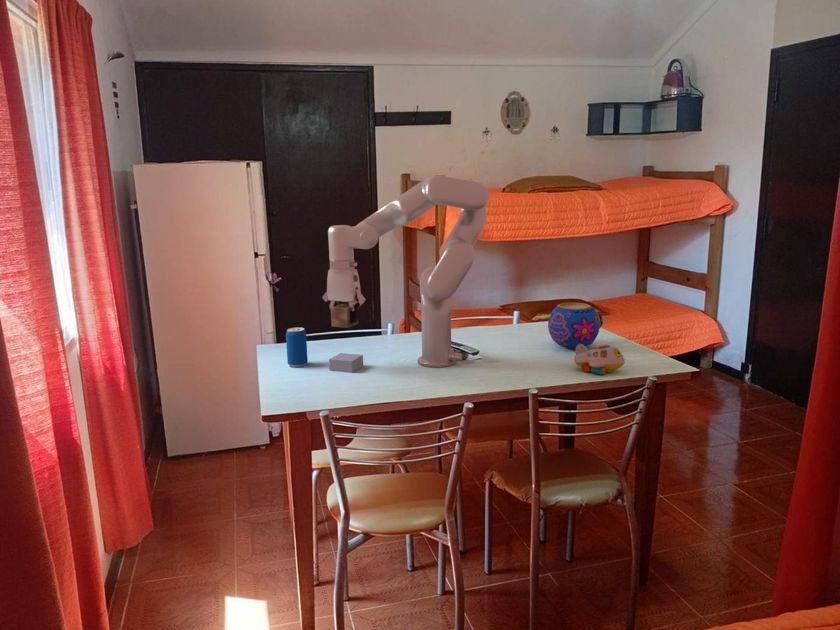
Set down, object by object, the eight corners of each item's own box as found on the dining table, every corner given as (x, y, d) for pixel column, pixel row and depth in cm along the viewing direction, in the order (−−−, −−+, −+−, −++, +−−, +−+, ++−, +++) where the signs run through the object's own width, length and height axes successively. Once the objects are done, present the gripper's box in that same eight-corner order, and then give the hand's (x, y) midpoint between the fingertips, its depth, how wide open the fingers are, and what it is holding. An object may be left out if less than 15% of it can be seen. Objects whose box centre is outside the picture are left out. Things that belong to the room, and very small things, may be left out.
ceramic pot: (610, 348, 233) (611, 305, 229) (574, 356, 223) (575, 312, 220) (572, 338, 247) (573, 298, 244) (537, 346, 237) (537, 304, 234)
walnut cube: (357, 323, 213) (357, 305, 212) (347, 327, 208) (346, 308, 207) (342, 322, 216) (341, 304, 215) (331, 326, 211) (330, 307, 210)
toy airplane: (576, 338, 214) (625, 338, 208) (577, 365, 215) (626, 366, 210) (570, 349, 201) (622, 350, 196) (572, 377, 203) (623, 378, 198)
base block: (363, 366, 217) (362, 354, 216) (352, 373, 210) (351, 361, 209) (341, 364, 220) (340, 353, 219) (329, 371, 213) (329, 359, 212)
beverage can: (310, 362, 222) (308, 327, 220) (304, 367, 216) (302, 331, 214) (291, 362, 223) (288, 327, 221) (285, 367, 217) (283, 331, 214)
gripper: (372, 264, 208) (374, 321, 211) (325, 262, 215) (328, 317, 219) (359, 268, 201) (361, 326, 205) (312, 265, 209) (315, 322, 212)
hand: (344, 321), depth 212 cm, fingers closed on walnut cube, 6 cm apart
